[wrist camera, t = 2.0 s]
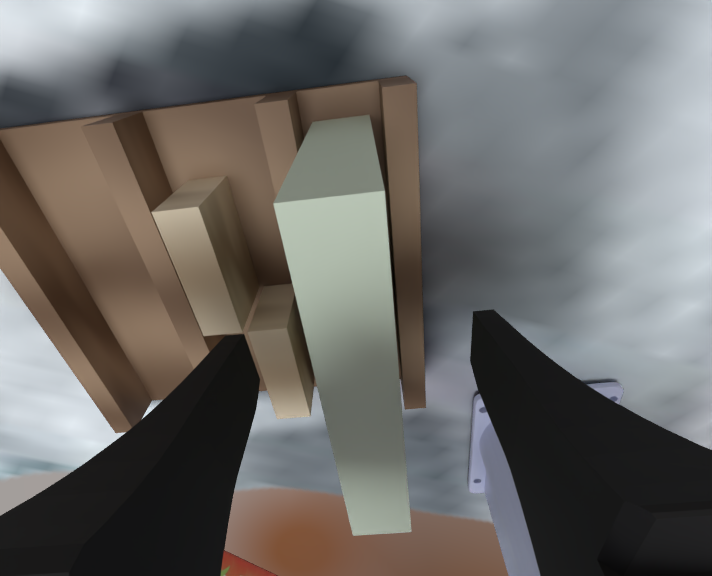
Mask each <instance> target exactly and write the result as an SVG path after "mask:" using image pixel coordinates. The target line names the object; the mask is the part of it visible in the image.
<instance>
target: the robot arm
mask: <svg viewBox="0 0 712 576" xmlns="http://www.w3.org/2000/svg"><path fill="white" fill-rule="evenodd" d="M470 361H471V365H472V369H473V373H474V377H475V380H476V384H477V387H478V391H479V393H480V394H478V395H476V396H475V397H474V402H473V417H472V431H471V446H470V460H469V475H468V488H469V491H470V492H472V493H485V495H486V499H487V502H488V506H489V509H490V512H491V516H492V519H493V523H494V526H495V530H496V533H497V537H498V540H499V544H500V547H501V551H502V554H503V557H504V561H505V565H506V568H507V571H508V575H509V576H712V450H710V449H707V448H705V447H703V446H700V445H698V444H696V443H694V442H692V441H690V440H687V439H685V438H683V437H681V436H679V435H677V434H675V433H672V432H670V431H668V430H666V429H664V428H662V427H660V426H658V425H656V424H654V423H652V422H650V421H648V420H646V419H644V418H643V417H641V416H639V415H637V414H635V413H633V412H632V411H630V410H628V409H626V408H624V407H622V406H621V405H619V403H620V401H621V398H622V395H623V393H624V389H623V387H622V386H621V385H620V384H619V383H617V382H607V383H595V384H585V383H583V382H582V381H580V380H579V379H577V378H576V377H574V376H573V375H572V374H570V373H569V372H567V371H566V370H565V369H563V368H562V367H561V366H559V365H558V364H557V363H555V362H554V361H553V360H551V359H550V358H549V357H547V356H546V355H545V354H544V353H543V352H541V351H540V350H539V349H538V348H537V347H535V346H534V345H533V344H532V343H530V342H529V341H528V340H527V339H526V338H525V337H524V336H522V335H521V334H520V333H519V332H518V331H517V330H516V329H514V328H513V327H512V326H511V325H510V324H509V323H508V322H507V321H506V320H505V319H503V318H502V317H501V316H500V315H499V314H498V313H497V312H496V311H494V310H484V311H474V312H473V324H472V341H471V358H470ZM259 385H260V378H259V375H258V372H257V369H256V366H255V363H254V361H253V358H252V355H251V352H250V349H249V346H248V343H247V341H246V338H245V335H244V334H237V335H226V336H225V337H224V338H223V339H222V340H221V341H220V342H219V343H218V344H217V345H216V346H215V347H214V348H213V349H212V350H211V351H210V352H209V353H208V355H207V356H206V357H205V358H204V359H203V360H202V361H201V362H200V363H199V364H198V365H197V366H196V367H195V368H194V370H193V371H192V372H191V373H190V374H189V375H188V376H187V377H186V378H185V379H184V380H183V381H182V382H181V383H180V384H179V385H178V386H177V387H176V388H175V389H174V390H173V391H172V392H171V393H170V394H169V395H168V396H167V397H166V398H165V399H164V400H163V401H162V402H161V403H160V404H159V405H157V406H156V407H155V408H154V409H153V410H152V411H151V412H150V413H149V414H148V415H146V416H145V417H144V418H143V419H142V420H141V421H139V422H138V423H137V424H136V425H135V426H133V427H132V428H131V429H130V430H129V431H127V432H126V433H125V434H124V435H122V436H121V437H120V438H119V439H117V440H116V441H115V442H113V443H112V444H111V445H109V446H108V447H107V448H105V449H104V450H102V451H101V452H100V453H98V454H97V455H96V456H94V457H93V458H92V459H90V460H89V461H88V462H86V463H85V464H83V465H82V466H80V467H79V468H77V469H76V470H74V471H73V472H71V473H70V474H68V475H67V476H65V477H64V478H62V479H61V480H59V481H58V482H56V483H55V484H53V485H51V486H50V487H48V488H47V489H45V490H44V491H42V492H40V493H39V494H37V495H36V496H34V497H32V498H31V499H29V500H27V501H25V502H24V503H22V504H20V505H18V506H16V507H15V508H13V509H11V510H10V511H8V512H6V513H4V514H3V515H1V516H0V576H221V568H222V560H223V554H224V547H225V541H226V534H227V528H228V521H229V516H230V510H231V504H232V498H233V493H234V488H235V484H236V480H237V476H238V472H239V468H240V465H241V461H242V458H243V454H244V451H245V447H246V444H247V440H248V437H249V433H250V430H251V426H252V422H253V419H254V415H255V411H256V406H257V400H258V393H259Z"/></svg>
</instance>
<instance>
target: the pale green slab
mask: <svg viewBox="0 0 712 576" xmlns="http://www.w3.org/2000/svg"><path fill="white" fill-rule="evenodd" d="M273 205H274V209H275V213H276V217H277V221H278V226H279V230H280V234H281V238H282V242H283V246H284V250H285V255H286V259H287V263H288V267H289V271H290V275H291V280H292V284H293V288H294V292H295V296H296V300H297V305H298V309H299V313H300V317H301V321H302V325H303V329H304V334H305V338H306V342H307V346H308V350H309V354H310V359H311V363H312V367H313V371H314V375H315V379H316V383H317V388H318V392H319V396H320V400H321V404H322V408H323V413H324V417H325V421H326V425H327V429H328V433H329V438H330V442H331V446H332V450H333V454H334V458H335V462H336V467H337V471H338V475H339V479H340V483H341V487H342V492H343V496H344V500H345V504H346V508H347V512H348V517H349V521H350V525H351V529H352V533H353V535H370V534H385V533H400V532H411V521H410V508H409V496H408V483H407V470H406V457H405V444H404V431H403V418H402V406H401V393H400V380H399V367H398V354H397V341H396V329H395V316H394V303H393V290H392V277H391V264H390V252H389V239H388V226H387V213H386V200H385V189H384V184H383V180H382V175H381V170H380V165H379V160H378V155H377V150H376V145H375V140H374V135H373V130H372V125H371V120H370V115H363V116H355V117H347V118H339V119H331V120H323V121H315V122H312V124H311V126H310V128H309V130H308V132H307V134H306V137H305V139H304V141H303V143H302V145H301V147H300V149H299V151H298V153H297V155H296V157H295V159H294V161H293V163H292V166H291V168H290V170H289V172H288V174H287V176H286V178H285V180H284V182H283V184H282V186H281V188H280V190H279V192H278V194H277V197H276V199H275V201H274V203H273Z"/></svg>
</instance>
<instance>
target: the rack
mask: <svg viewBox="0 0 712 576" xmlns="http://www.w3.org/2000/svg"><path fill="white" fill-rule="evenodd" d="M363 115H370V120H371V125H372V130H373V135H374V140H375V145H376V150H377V155H378V160H379V165H380V170H381V175H382V180H383V184H384V189H385V200H386V213H387V226H388V239H389V252H390V264H391V277H392V290H393V303H394V316H395V329H396V341H397V354H398V367H399V379H401V384H402V391H403V399H404V406H405V409H416V408H426V398H425V363H424V328H423V293H422V258H421V223H420V188H419V153H418V117H417V83H416V82H414V81H413V80H412V79H410V78H409V77H408V76H399V77H391V78H384V79H376V80H369V81H361V82H353V83H346V84H338V85H330V86H323V87H315V88H307V89H300V90H292V91H285V92H277V93H269V94H262V95H254V96H246V97H239V98H231V99H223V100H216V101H208V102H201V103H193V104H185V105H178V106H170V107H162V108H155V109H147V110H139V111H132V112H124V113H116V114H109V115H101V116H94V117H86V118H78V119H71V120H63V121H55V122H48V123H40V124H32V125H25V126H17V127H10V128H2V129H0V269H1V270H2V271H3V273H4V274H5V276H6V277H7V279H8V280H9V281H10V283H11V284H12V286H13V287H14V289H15V290H16V291H17V293H18V294H19V296H20V297H21V299H22V300H23V301H24V303H25V304H26V306H27V307H28V309H29V310H30V311H31V313H32V314H33V316H34V317H35V319H36V320H37V321H38V323H39V324H40V326H41V327H42V329H43V330H44V331H45V333H46V334H47V336H48V337H49V339H50V340H51V341H52V343H53V344H54V346H55V347H56V349H57V350H58V351H59V353H60V354H61V356H62V357H63V359H64V360H65V361H66V363H67V364H68V366H69V367H70V369H71V370H72V371H73V373H74V374H75V376H76V377H77V379H78V380H79V381H80V383H81V384H82V386H83V387H84V389H85V390H86V391H87V393H88V394H89V396H90V397H91V398H92V400H93V401H94V403H95V404H96V406H97V407H98V408H99V410H100V411H101V413H102V414H103V416H104V417H105V418H106V420H107V421H108V423H109V424H110V426H111V427H112V428H113V430H114V431H115V433H122V432H127V431H129V430H130V429H131V428H132V427H133V426H135V425H136V424H137V423H138V422H139V421H141V419H142V417H143V416H144V414H145V412H146V410H147V408H148V407H149V405H150V403H151V401H152V400H162V399H165V398H166V397H167V396H168V395H169V394H170V393H171V392H172V391H173V390H174V389H175V388H176V387H177V386H178V385H179V384H180V383H181V382H182V381H183V380H184V379H185V378H186V377H187V376H188V375H189V374H190V373H191V372H192V371H193V370H194V368H195V367H196V366H197V365H198V364H199V363H200V362H201V361H202V360H203V359H204V358H205V357H206V356H207V355H208V353H209V352H210V351H211V350H212V349H213V348H214V347H215V346H216V345H217V344H218V343H219V342H220V341H221V340H222V339H223V338H224V337H225V336H226V335H237V334H244V335H245V338H246V341H247V343H248V346H249V349H250V352H251V355H252V358H253V361H254V363H255V366H256V369H257V372H258V375H259V378H260V385H259V391H266V390H267V388H266V385H265V382H264V379H263V376H262V373H261V370H260V367H259V364H258V361H257V358H256V355H255V353H254V350H253V347H252V344H251V341H250V338H249V335H248V329H249V326H250V324H251V321H252V318H253V315H254V313H255V310H256V307H257V304H258V301H259V299H260V296H261V293H262V290H263V288H264V286H273V285H282V284H292V280H291V275H290V271H289V267H288V263H287V259H286V255H285V250H284V246H283V242H282V238H281V234H280V230H279V226H278V221H277V217H276V213H275V209H274V205H273V203H274V201H275V199H276V197H277V194H278V192H279V190H280V188H281V186H282V184H283V182H284V180H285V178H286V176H287V174H288V172H289V170H290V168H291V166H292V163H293V161H294V159H295V157H296V155H297V153H298V151H299V149H300V147H301V145H302V143H303V141H304V139H305V137H306V134H307V132H308V130H309V128H310V126H311V124H312V122H315V121H323V120H331V119H339V118H347V117H355V116H363ZM221 176H227V179H228V182H229V185H230V189H231V192H232V196H233V199H234V202H235V206H236V209H237V212H238V216H239V219H240V223H241V226H242V229H243V233H244V236H245V239H246V243H247V246H248V250H249V253H250V256H251V260H252V263H253V266H254V270H255V273H256V277H257V280H258V283H259V290H258V292H257V295H256V298H255V300H254V303H253V305H252V308H251V311H250V313H249V316H248V319H247V321H246V324H245V327H244V329H243V332H242V333H232V334H221V335H211V336H203V333H202V331H201V329H200V326H199V324H198V322H197V319H196V317H195V314H194V312H193V310H192V307H191V305H190V303H189V300H188V298H187V295H186V293H185V291H184V288H183V286H182V284H181V281H180V279H179V277H178V274H177V272H176V269H175V267H174V265H173V262H172V260H171V258H170V255H169V253H168V250H167V248H166V246H165V243H164V241H163V239H162V236H161V234H160V231H159V229H158V227H157V224H156V222H155V220H154V217H153V215H152V213H151V212H152V211H153V210H155V209H156V208H157V207H158V206H159V205H160V204H161V203H163V202H164V201H165V200H166V199H167V198H168V197H170V196H171V195H172V194H173V193H174V192H175V191H176V190H178V189H179V188H180V187H181V186H182V185H183V184H185V183H186V182H187V181H188V180H196V179H204V178H213V177H221ZM314 386H317V383H316V379H315V380H314Z"/></svg>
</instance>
